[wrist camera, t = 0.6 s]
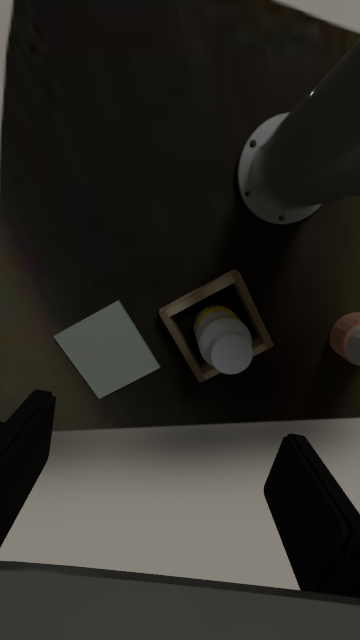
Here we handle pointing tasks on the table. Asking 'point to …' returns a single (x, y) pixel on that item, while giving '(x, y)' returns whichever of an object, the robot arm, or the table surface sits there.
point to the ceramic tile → (107, 350)
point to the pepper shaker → (347, 337)
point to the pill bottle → (223, 339)
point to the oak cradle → (197, 295)
